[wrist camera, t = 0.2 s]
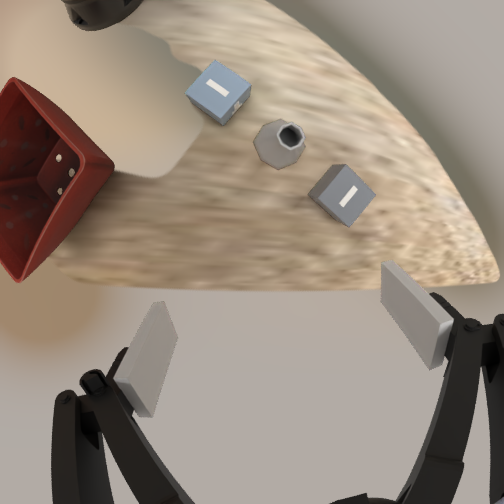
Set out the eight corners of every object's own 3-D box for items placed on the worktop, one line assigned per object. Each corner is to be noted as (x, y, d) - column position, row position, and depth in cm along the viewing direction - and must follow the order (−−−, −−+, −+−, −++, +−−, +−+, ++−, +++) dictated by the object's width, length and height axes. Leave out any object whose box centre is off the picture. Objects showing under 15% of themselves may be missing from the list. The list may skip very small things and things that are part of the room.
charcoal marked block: (307, 194, 42) (318, 198, 36) (332, 164, 41) (346, 164, 35) (336, 220, 43) (350, 228, 37) (360, 191, 42) (377, 195, 36)
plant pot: (19, 181, 38) (-45, 193, 22) (73, 95, 35) (11, 73, 19) (78, 251, 43) (18, 287, 26) (143, 163, 39) (89, 161, 23)
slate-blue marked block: (192, 103, 37) (184, 92, 31) (218, 73, 36) (214, 59, 30) (224, 126, 39) (221, 119, 33) (250, 96, 37) (252, 84, 31)
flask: (281, 111, 38) (293, 93, 28) (313, 147, 40) (334, 141, 30) (243, 141, 39) (244, 132, 30) (277, 178, 41) (288, 180, 31)
